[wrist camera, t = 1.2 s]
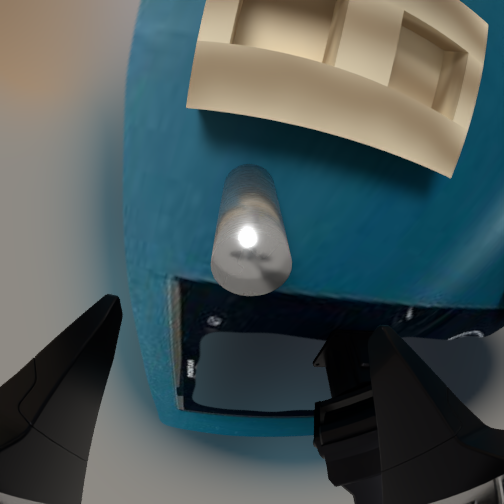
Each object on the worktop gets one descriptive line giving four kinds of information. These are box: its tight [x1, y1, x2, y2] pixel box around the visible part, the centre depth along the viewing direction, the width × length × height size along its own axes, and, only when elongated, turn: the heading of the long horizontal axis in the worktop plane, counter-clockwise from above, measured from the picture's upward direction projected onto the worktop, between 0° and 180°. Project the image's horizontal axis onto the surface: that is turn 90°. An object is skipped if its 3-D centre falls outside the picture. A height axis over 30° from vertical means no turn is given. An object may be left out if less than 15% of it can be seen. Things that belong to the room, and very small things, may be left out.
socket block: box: [186, 0, 488, 178], centre depth 10 cm, size 12×16×3 cm
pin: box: [211, 164, 292, 296], centre depth 14 cm, size 3×3×8 cm
